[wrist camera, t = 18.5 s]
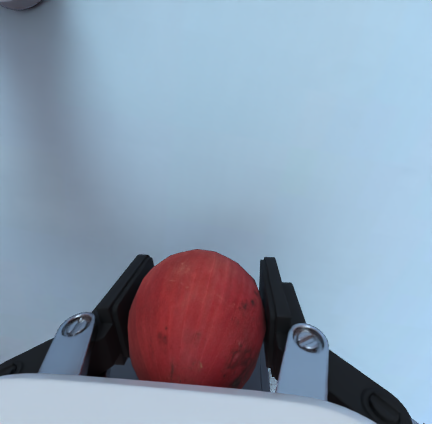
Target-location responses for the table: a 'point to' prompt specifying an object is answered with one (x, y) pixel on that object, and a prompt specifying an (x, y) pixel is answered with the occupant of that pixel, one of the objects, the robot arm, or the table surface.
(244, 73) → the table surface
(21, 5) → the travel mug
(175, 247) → the table surface
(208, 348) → the onion
